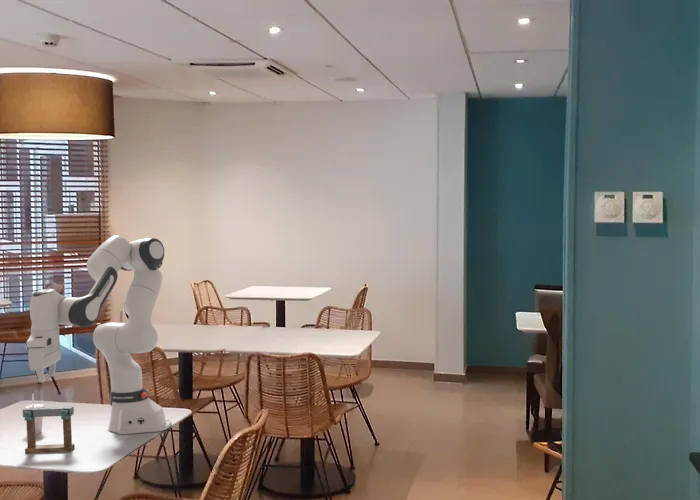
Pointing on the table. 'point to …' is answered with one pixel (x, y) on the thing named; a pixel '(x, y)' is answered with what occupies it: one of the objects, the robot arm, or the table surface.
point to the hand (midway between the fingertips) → (46, 379)
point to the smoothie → (37, 419)
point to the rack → (54, 447)
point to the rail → (48, 411)
